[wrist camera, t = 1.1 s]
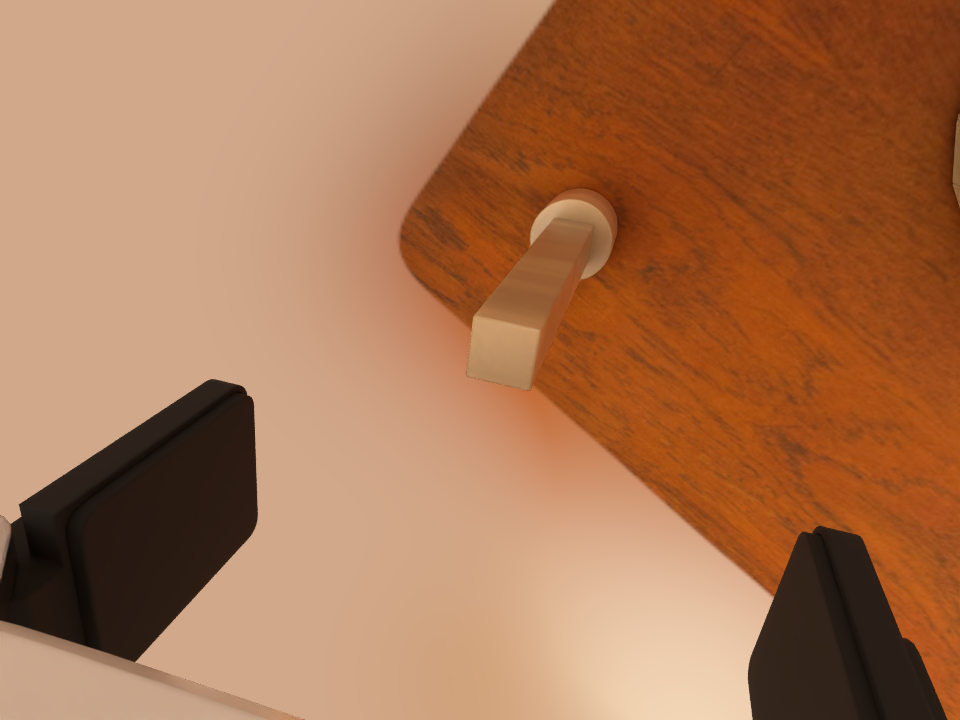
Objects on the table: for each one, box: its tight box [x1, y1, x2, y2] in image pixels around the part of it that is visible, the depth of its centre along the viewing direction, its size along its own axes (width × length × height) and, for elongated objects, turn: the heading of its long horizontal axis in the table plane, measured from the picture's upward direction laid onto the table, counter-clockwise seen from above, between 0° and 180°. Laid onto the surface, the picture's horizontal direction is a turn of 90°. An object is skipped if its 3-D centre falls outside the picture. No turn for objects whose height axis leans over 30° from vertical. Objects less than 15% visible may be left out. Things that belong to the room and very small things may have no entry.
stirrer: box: [466, 188, 618, 391], centre depth 24 cm, size 4×4×16 cm
